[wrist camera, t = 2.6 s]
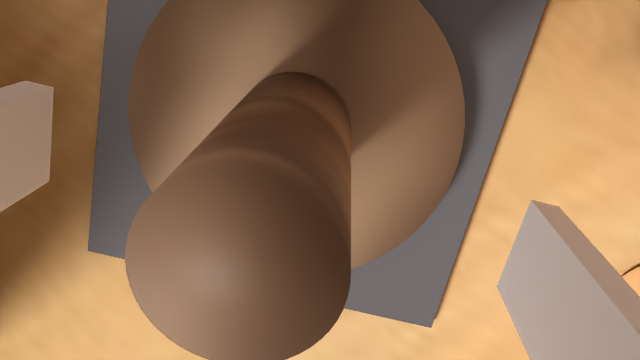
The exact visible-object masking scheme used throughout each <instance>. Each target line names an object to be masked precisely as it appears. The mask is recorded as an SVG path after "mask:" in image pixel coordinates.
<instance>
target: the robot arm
mask: <svg viewBox="0 0 640 360" xmlns="http://www.w3.org/2000/svg"><path fill="white" fill-rule="evenodd" d="M53 96H54V87H51V86H47V85H43V84H39V83H34V82H30V81H22V82H19V83H15V84H12V85H8V86H4V87H1V88H0V212H1V211H3V210H5V209H6V208H8V207H9V206H11V205H13V204H14V203H16V202H17V201H19V200H21V199H22V198H24V197H25V196H27V195H29V194H30V193H32V192H33V191H35V190H36V189H38V188H40V187H41V186H43V185H44V184H46V183H48V182H49V180H50V159H51V138H52V117H53ZM497 288H498V290H499V292H500V294H501V296H502V299H503V301H504V303H505V305H506V307H507V310H508V312H509V314H510V316H511V318H512V321H513V323H514V325H515V327H516V329H517V332H518V334H519V336H520V338H521V340H522V343H523V345H524V347H525V349H526V351H527V354H528V356H529V358H530V360H640V296H639V295H638V294H637V293H636V292H635V291H634V290H633V289H632V287H631V286H630V285H629V284H628V283H627V282H626V281H625V280H624V279H623V277H622V276H621V275H620V274H619V273H618V272H617V271H616V270H615V269H614V267H613V266H612V265H611V264H610V263H609V262H608V261H607V260H606V259H605V257H604V256H603V255H602V254H601V253H600V252H599V251H598V250H597V249H596V247H595V246H594V245H593V244H592V243H591V242H590V241H589V240H588V239H587V237H586V236H585V235H584V234H583V233H582V232H581V231H580V230H579V229H578V227H577V226H576V225H575V224H574V223H573V222H572V221H571V220H570V219H569V217H568V216H567V215H566V214H565V213H564V212H563V211H562V210H561V209H560V207H559V206H554V205H550V204H546V203H542V202H537V201H533V200H531V202H530V204H529V207H528V209H527V212H526V214H525V217H524V219H523V222H522V224H521V227H520V229H519V232H518V234H517V237H516V239H515V242H514V244H513V247H512V250H511V252H510V255H509V257H508V260H507V262H506V265H505V267H504V270H503V272H502V275H501V277H500V280H499V282H498V285H497Z"/></svg>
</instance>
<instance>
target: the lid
mask: <svg viewBox="0 0 640 360" xmlns="http://www.w3.org/2000/svg"><path fill="white" fill-rule="evenodd" d="M128 115H129V125H130V134H131V138H132V143H133V147H134V151H135V155H136V158H137V160H138V163H139V166H140V168H141V171H142V174H143V176H144V177H145V179H146V181H147V183H148V185H149V187H150V189H151V191H152V194H151V195H150V196H149V197H148V198H147V199H146V201H145V202H144V203H143V205H142V206H141V207H140V209H139V210H138V212H137V214H136V216H135V218H134V219H133V221H132V224H131V227H130V230H129V233H128V237H127V242H126V250H125V263H126V272H127V276H128V280H129V284H130V287H131V290H132V292H133V295H134V297H135V299H136V301H137V303H138V304H139V306H140V308H141V310H142V311H143V312H144V314H145V315H146V316H147V318H148V319H149V320H150V322H151V323H152V324H153V325H154V326H155V327H156V328H157V329H158V330H159V331H160V332H161V333H163V334H164V335H165V336H166V337H167V338H168V339H170V340H171V341H173V342H174V343H176V344H177V345H179V346H180V347H182V348H184V349H186V350H187V351H189V352H191V353H193V354H196V355H198V356H201V357H203V358H206V359H209V360H285V359H288V358H290V357H293V356H295V355H297V354H300V353H301V352H303V351H305V350H307V349H308V348H310V347H311V346H313V345H314V344H315V343H317V342H318V341H319V340H321V339H322V338H323V337H324V336H325V335H326V334H327V333H328V332H329V331H330V329H331V328H332V327H333V325H334V324H335V323H336V321H337V320H338V318H339V316H340V314H341V313H342V311H343V309H344V306H345V303H346V301H347V298H348V294H349V289H350V283H351V269H353V268H356V267H359V266H362V265H364V264H366V263H369V262H371V261H373V260H375V259H377V258H380V257H381V256H383V255H385V254H386V253H388V252H390V251H391V250H393V249H394V248H396V247H397V246H399V245H400V244H401V243H403V242H404V241H405V240H406V239H408V238H409V237H410V236H411V235H413V234H414V233H415V232H416V230H417V229H418V228H419V227H420V226H421V225H422V224H423V223H424V222H425V221H426V220H427V219H428V218H429V216H430V215H431V214H432V212H433V211H434V210H435V208H436V207H437V206H438V205H439V203H440V201H441V199H442V198H443V196H444V194H445V192H446V191H447V189H448V187H449V185H450V183H451V180H452V178H453V175H454V173H455V170H456V168H457V165H458V161H459V157H460V153H461V149H462V145H463V137H464V128H465V102H464V95H463V89H462V82H461V78H460V74H459V71H458V68H457V64H456V61H455V58H454V56H453V53H452V51H451V49H450V47H449V45H448V42H447V40H446V38H445V36H444V35H443V33H442V31H441V30H440V28H439V27H438V25H437V23H436V22H435V20H434V19H433V17H432V16H431V15H430V14H429V12H428V11H427V10H426V9H425V8H424V7H423V5H422V4H421V3H420V2H419V1H418V0H169V1H168V2H167V3H166V4H165V5H164V6H163V7H162V9H161V10H160V11H159V13H158V14H157V16H156V17H155V19H154V20H153V22H152V23H151V25H150V26H149V28H148V30H147V32H146V34H145V36H144V39H143V41H142V43H141V45H140V47H139V50H138V53H137V56H136V59H135V63H134V66H133V69H132V75H131V81H130V87H129V102H128Z"/></svg>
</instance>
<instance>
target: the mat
mask: <svg viewBox="0 0 640 360" xmlns="http://www.w3.org/2000/svg"><path fill="white" fill-rule="evenodd" d="M168 1H169V0H108V5H107V17H106V30H105V42H104V55H103V67H102V80H101V92H100V105H99V117H98V130H97V142H96V155H95V167H94V180H93V192H92V205H91V217H90V230H89V242H88V251H91V252H96V253H100V254H105V255H109V256H113V257H118V258H122V259H125V250H126V242H127V237H128V233H129V230H130V227H131V224H132V221H133V219H134V218H135V216H136V214H137V212H138V210H139V209H140V207H141V206H142V205H143V203H144V202H145V201H146V199H147V198H148V197H149V196H150V195H151V194H152V191H151V189H150V187H149V185H148V183H147V181H146V179H145V177H144V176H143V174H142V171H141V168H140V166H139V163H138V160H137V158H136V155H135V151H134V147H133V143H132V138H131V134H130V125H129V115H128V102H129V87H130V81H131V75H132V69H133V66H134V63H135V59H136V56H137V53H138V50H139V47H140V45H141V43H142V41H143V39H144V36H145V34H146V32H147V30H148V28H149V26H150V25H151V23H152V22H153V20H154V19H155V17H156V16H157V14H158V13H159V11H160V10H161V9H162V7H163V6H164V5H165V4H166V3H167V2H168ZM418 1H419V2H420V3H421V4H422V5H423V7H424V8H425V9H426V10H427V11H428V12H429V14H430V15H431V16H432V17H433V19H434V20H435V22H436V23H437V25H438V27H439V28H440V30H441V31H442V33H443V35H444V36H445V38H446V40H447V42H448V45H449V47H450V49H451V51H452V53H453V56H454V58H455V61H456V64H457V68H458V71H459V74H460V78H461V82H462V89H463V95H464V102H465V128H464V137H463V145H462V149H461V153H460V157H459V161H458V165H457V168H456V170H455V173H454V175H453V178H452V180H451V183H450V185H449V187H448V189H447V191H446V192H445V194H444V196H443V198H442V199H441V201H440V203H439V205H438V206H437V207H436V208H435V210H434V211H433V212H432V214H431V215H430V216H429V218H428V219H427V220H426V221H425V222H424V223H423V224H422V225H421V226H420V227H419V228H418V229H417V230H416V232H415V233H414V234H413V235H411V236H410V237H409V238H408V239H406V240H405V241H404V242H403V243H401V244H400V245H399V246H397V247H396V248H394V249H393V250H391V251H390V252H388V253H386V254H385V255H383V256H381V257H380V258H377V259H375V260H373V261H371V262H369V263H366V264H364V265H362V266H359V267H356V268H353V269H351V283H350V289H349V294H348V298H347V301H346V303H345V306H344V308H345V309H350V310H354V311H359V312H363V313H368V314H372V315H376V316H381V317H385V318H390V319H394V320H399V321H403V322H408V323H412V324H417V325H421V326H425V327H430V328H431V327H432V324H433V321H434V318H435V315H436V312H437V310H438V307H439V304H440V301H441V298H442V296H443V293H444V290H445V287H446V284H447V281H448V279H449V276H450V273H451V270H452V267H453V265H454V262H455V259H456V256H457V253H458V250H459V248H460V245H461V242H462V239H463V236H464V234H465V231H466V228H467V225H468V222H469V220H470V217H471V214H472V211H473V208H474V205H475V203H476V200H477V197H478V194H479V191H480V189H481V186H482V183H483V180H484V177H485V174H486V172H487V169H488V166H489V163H490V160H491V158H492V155H493V152H494V149H495V146H496V143H497V141H498V138H499V135H500V132H501V129H502V127H503V124H504V121H505V118H506V115H507V113H508V110H509V107H510V104H511V101H512V98H513V96H514V93H515V90H516V87H517V84H518V82H519V79H520V76H521V73H522V70H523V67H524V65H525V62H526V59H527V56H528V53H529V51H530V48H531V45H532V42H533V39H534V36H535V34H536V31H537V28H538V25H539V22H540V20H541V17H542V14H543V11H544V8H545V5H546V3H547V0H418Z"/></svg>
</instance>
